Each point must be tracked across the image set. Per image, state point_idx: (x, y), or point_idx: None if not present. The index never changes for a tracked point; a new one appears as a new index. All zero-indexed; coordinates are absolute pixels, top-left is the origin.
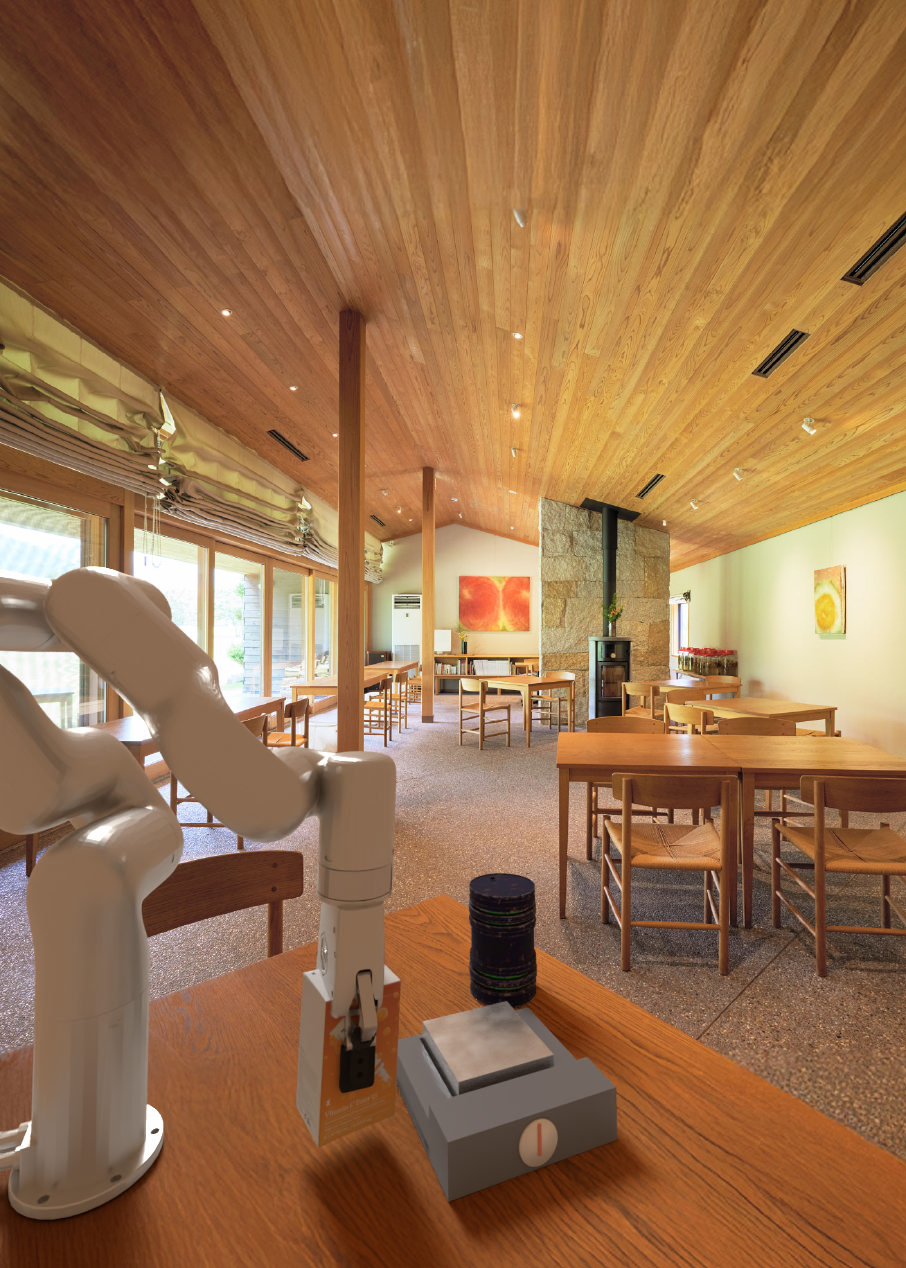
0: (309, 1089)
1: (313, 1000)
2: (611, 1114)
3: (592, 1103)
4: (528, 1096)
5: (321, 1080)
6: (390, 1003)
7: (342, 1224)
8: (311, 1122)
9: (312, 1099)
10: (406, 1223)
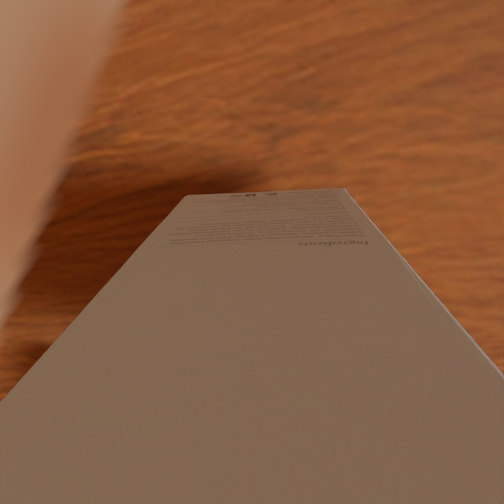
0: (242, 217)
1: (218, 487)
2: None
3: None
4: None
5: (133, 253)
6: None
7: (115, 196)
8: (225, 198)
9: (217, 214)
10: (79, 282)
